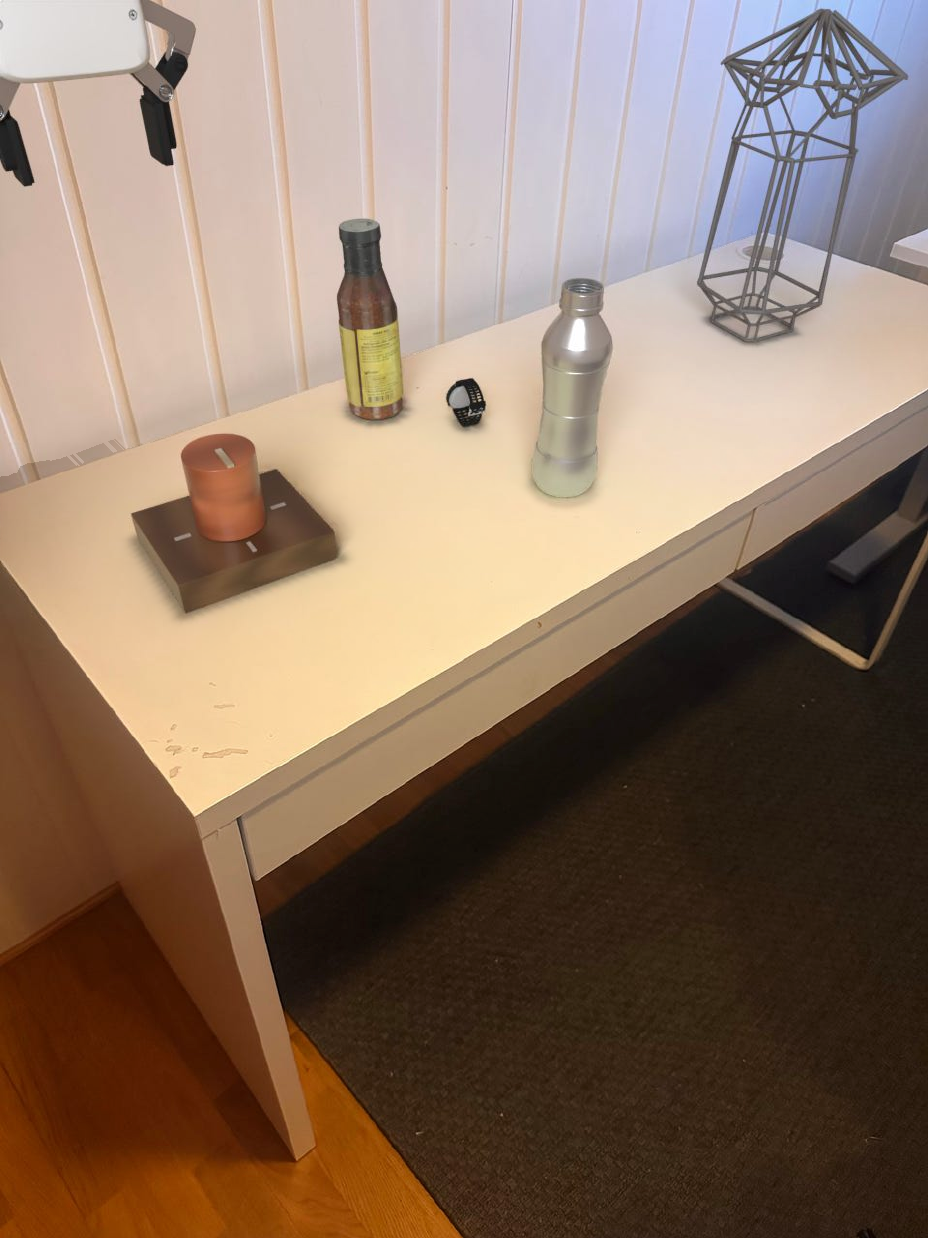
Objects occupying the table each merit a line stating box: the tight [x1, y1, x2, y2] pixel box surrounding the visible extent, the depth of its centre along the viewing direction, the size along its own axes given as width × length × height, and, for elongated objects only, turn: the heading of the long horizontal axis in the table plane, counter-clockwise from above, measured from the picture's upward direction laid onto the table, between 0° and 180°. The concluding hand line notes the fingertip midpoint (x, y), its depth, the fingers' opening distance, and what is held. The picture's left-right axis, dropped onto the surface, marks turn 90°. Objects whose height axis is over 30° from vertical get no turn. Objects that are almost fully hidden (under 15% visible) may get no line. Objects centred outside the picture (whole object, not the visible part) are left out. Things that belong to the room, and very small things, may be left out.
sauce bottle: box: [336, 218, 404, 421], centre depth 93 cm, size 7×6×20 cm
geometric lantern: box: [696, 7, 909, 343], centre depth 107 cm, size 16×16×35 cm
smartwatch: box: [445, 377, 487, 428], centre depth 96 cm, size 4×5×5 cm
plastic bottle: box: [530, 277, 614, 498], centre depth 82 cm, size 6×7×20 cm
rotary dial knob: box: [180, 433, 266, 542], centre depth 76 cm, size 6×6×7 cm
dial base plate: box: [130, 468, 338, 614], centre depth 79 cm, size 14×12×3 cm
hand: (95, 170), depth 63 cm, fingers open, 9 cm apart
